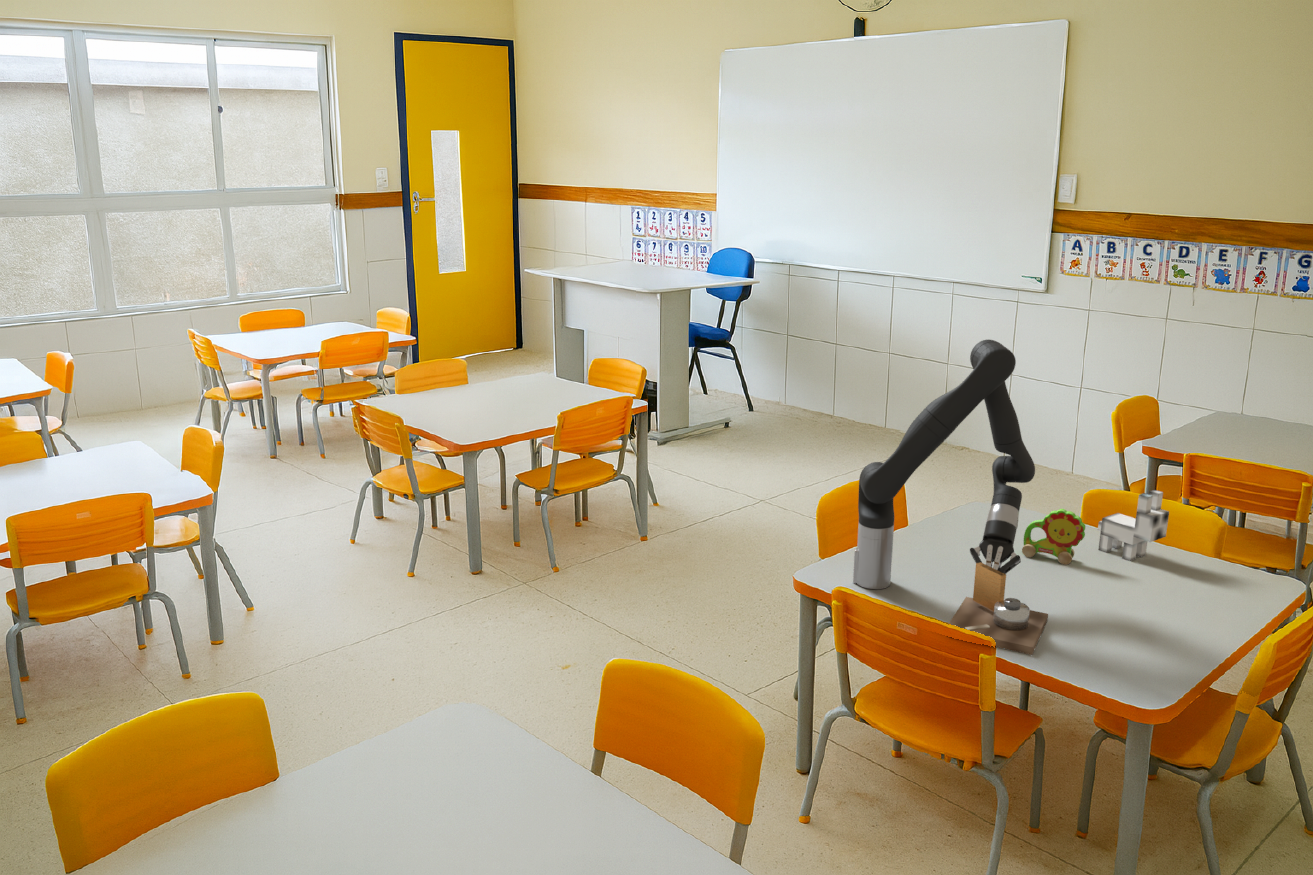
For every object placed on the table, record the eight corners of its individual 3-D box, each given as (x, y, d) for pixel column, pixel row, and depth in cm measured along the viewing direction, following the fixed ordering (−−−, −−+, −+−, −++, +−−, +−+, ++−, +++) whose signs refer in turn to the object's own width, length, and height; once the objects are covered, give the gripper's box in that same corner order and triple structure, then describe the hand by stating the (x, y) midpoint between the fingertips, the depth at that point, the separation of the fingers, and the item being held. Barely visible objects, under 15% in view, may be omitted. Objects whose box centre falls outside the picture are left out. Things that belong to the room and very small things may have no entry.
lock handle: (1035, 625, 238) (1039, 583, 235) (1010, 632, 234) (1014, 589, 231) (986, 599, 252) (990, 559, 249) (962, 606, 248) (966, 565, 245)
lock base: (945, 635, 238) (945, 626, 238) (965, 603, 255) (966, 595, 254) (1032, 655, 228) (1033, 646, 228) (1047, 621, 245) (1048, 612, 244)
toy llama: (1106, 542, 295) (1114, 478, 289) (1162, 561, 280) (1171, 494, 275) (1090, 547, 291) (1098, 482, 285) (1146, 567, 277) (1156, 499, 271)
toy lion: (1020, 556, 285) (1025, 506, 281) (1024, 550, 289) (1029, 501, 285) (1079, 567, 276) (1085, 516, 272) (1082, 561, 281) (1088, 511, 277)
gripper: (973, 515, 254) (959, 576, 247) (1027, 522, 248) (1014, 586, 241) (976, 527, 260) (963, 587, 253) (1029, 535, 254) (1017, 597, 247)
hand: (988, 587), depth 247 cm, fingers closed
